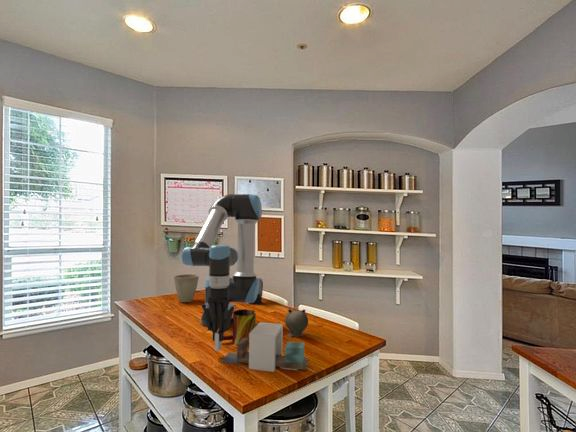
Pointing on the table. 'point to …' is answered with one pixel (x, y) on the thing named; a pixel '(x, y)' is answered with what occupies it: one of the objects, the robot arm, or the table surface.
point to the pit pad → (231, 359)
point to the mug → (242, 325)
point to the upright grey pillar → (265, 346)
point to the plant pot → (186, 286)
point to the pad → (288, 368)
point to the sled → (290, 360)
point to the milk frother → (259, 293)
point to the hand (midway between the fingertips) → (217, 349)
